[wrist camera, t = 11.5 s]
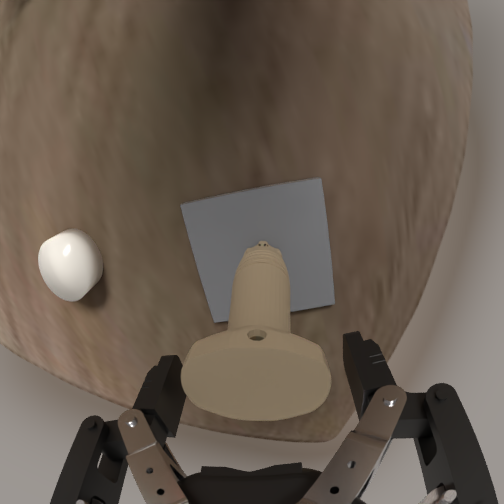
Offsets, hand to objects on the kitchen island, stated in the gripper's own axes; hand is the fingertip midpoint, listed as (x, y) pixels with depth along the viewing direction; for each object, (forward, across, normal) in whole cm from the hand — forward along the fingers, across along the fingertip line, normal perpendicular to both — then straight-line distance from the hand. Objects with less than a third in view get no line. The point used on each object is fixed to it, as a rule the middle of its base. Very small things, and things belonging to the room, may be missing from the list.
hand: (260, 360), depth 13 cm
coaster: (+14, 0, 0) cm, 14 cm away
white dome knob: (+14, +20, -3) cm, 25 cm away
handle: (+13, 0, 0) cm, 13 cm away
